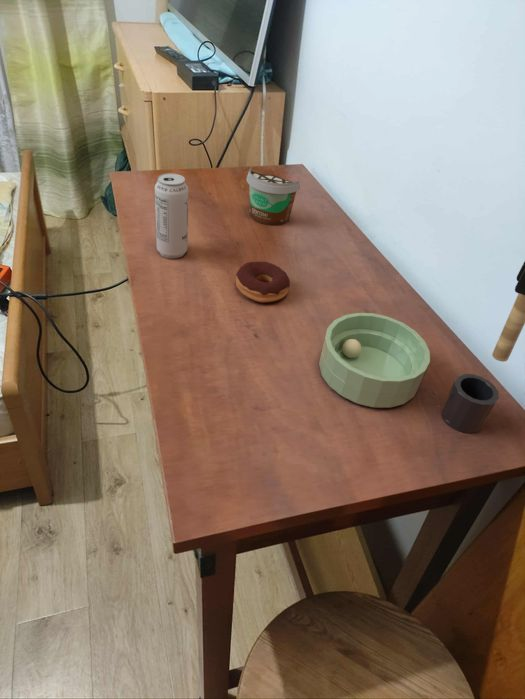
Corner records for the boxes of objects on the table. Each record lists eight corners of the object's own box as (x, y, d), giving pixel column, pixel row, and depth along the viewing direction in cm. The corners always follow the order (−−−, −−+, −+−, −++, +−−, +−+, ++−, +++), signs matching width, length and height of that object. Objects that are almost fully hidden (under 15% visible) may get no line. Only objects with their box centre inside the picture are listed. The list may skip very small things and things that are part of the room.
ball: (365, 357, 81) (364, 338, 81) (355, 358, 79) (354, 339, 79) (348, 357, 83) (348, 338, 83) (338, 358, 81) (338, 339, 81)
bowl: (401, 342, 87) (411, 314, 83) (431, 411, 75) (445, 382, 71) (311, 340, 85) (318, 311, 81) (328, 410, 73) (336, 380, 69)
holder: (472, 402, 77) (488, 374, 73) (489, 433, 73) (506, 404, 69) (435, 402, 76) (448, 373, 73) (449, 433, 72) (464, 404, 68)
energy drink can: (190, 258, 100) (191, 185, 90) (160, 261, 98) (157, 186, 88) (183, 243, 104) (184, 171, 95) (154, 245, 102) (151, 172, 93)
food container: (234, 218, 115) (238, 175, 108) (245, 208, 119) (249, 166, 113) (285, 233, 112) (292, 189, 106) (294, 222, 117) (301, 179, 110)
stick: (503, 351, 68) (552, 242, 57) (510, 361, 66) (562, 250, 56) (489, 352, 67) (536, 242, 57) (496, 362, 66) (546, 251, 56)
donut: (294, 304, 92) (297, 286, 89) (240, 307, 90) (242, 288, 87) (281, 274, 99) (283, 256, 97) (231, 275, 97) (232, 257, 94)
